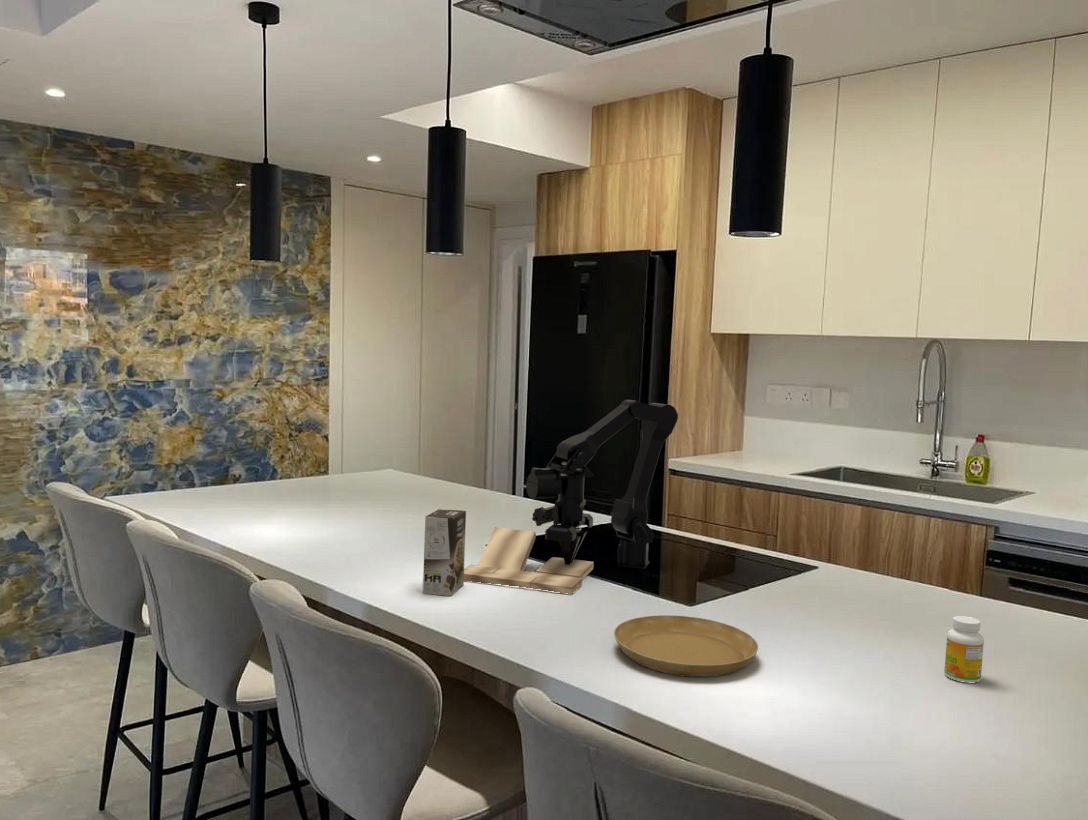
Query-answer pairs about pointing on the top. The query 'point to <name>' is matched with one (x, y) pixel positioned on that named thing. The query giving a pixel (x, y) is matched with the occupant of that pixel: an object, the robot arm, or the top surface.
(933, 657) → the top surface
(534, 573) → the laid section
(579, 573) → the near plank
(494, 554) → the far plank
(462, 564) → the coffee box
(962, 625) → the supplement bottle
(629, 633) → the plant saucer
